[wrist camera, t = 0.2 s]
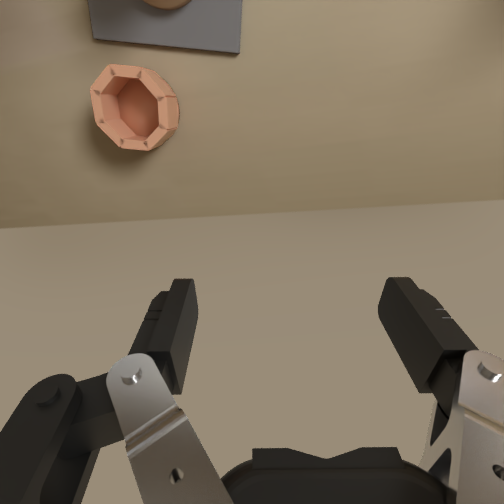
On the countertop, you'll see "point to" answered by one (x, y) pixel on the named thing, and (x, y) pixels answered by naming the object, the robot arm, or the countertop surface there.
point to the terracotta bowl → (134, 107)
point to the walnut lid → (167, 4)
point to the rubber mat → (169, 24)
